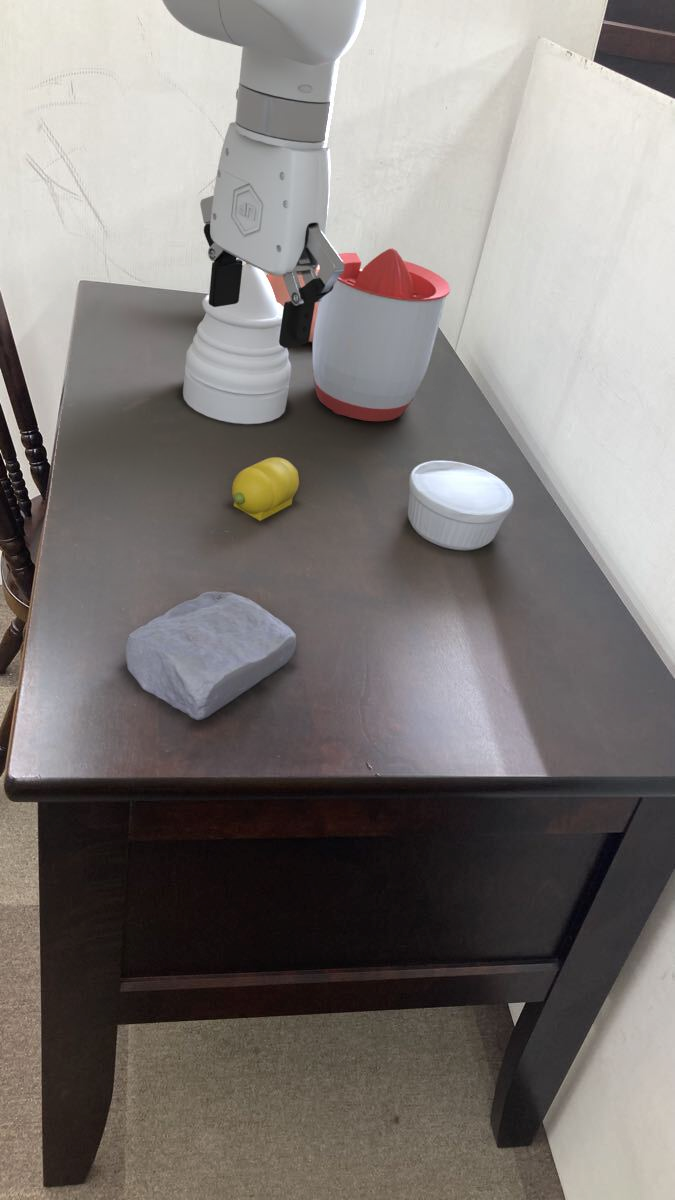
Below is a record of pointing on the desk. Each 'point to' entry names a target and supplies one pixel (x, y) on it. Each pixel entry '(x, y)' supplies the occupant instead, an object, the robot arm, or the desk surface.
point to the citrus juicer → (376, 336)
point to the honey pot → (239, 357)
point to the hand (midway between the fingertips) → (257, 323)
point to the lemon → (265, 487)
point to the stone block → (208, 651)
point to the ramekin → (457, 504)
